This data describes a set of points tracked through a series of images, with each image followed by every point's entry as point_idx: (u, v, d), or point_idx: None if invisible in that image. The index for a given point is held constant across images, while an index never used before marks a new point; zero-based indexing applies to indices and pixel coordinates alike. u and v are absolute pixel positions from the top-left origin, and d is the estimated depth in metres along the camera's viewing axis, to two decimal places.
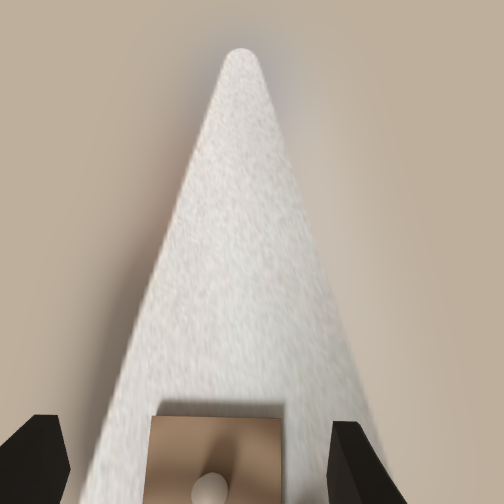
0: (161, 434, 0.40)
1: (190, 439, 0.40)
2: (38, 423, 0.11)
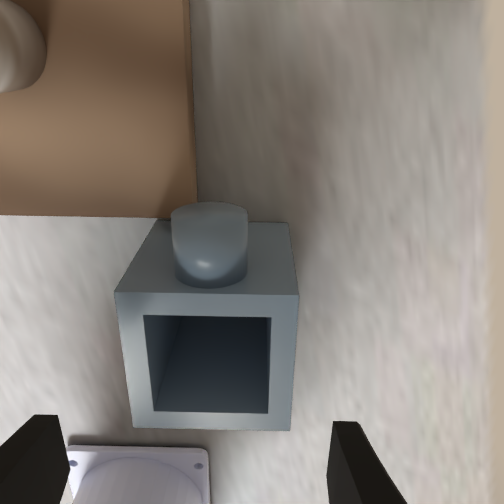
0: None
1: None
2: (38, 423, 0.11)
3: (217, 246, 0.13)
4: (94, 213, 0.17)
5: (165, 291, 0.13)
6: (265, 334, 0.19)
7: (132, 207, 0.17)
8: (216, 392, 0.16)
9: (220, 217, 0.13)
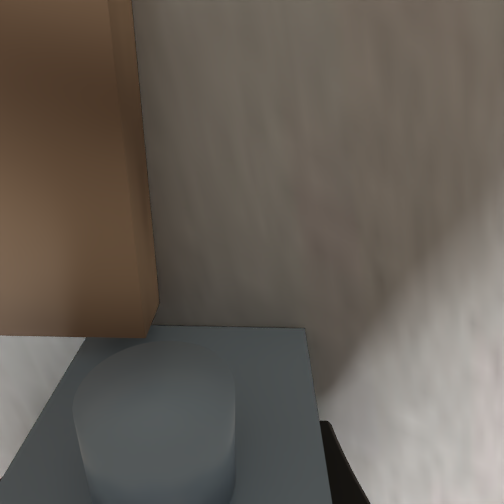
0: None
1: None
2: None
3: (166, 483, 0.06)
4: None
5: None
6: None
7: (41, 321, 0.10)
8: None
9: (178, 401, 0.06)
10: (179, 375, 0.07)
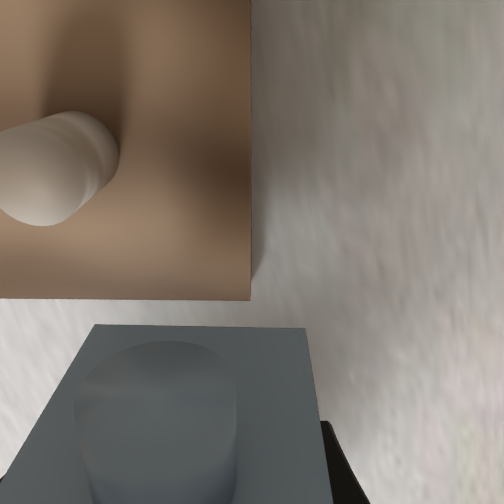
0: None
1: None
2: None
3: (167, 483, 0.06)
4: (156, 296, 0.18)
5: None
6: None
7: (193, 291, 0.18)
8: None
9: (179, 401, 0.06)
10: (180, 375, 0.07)
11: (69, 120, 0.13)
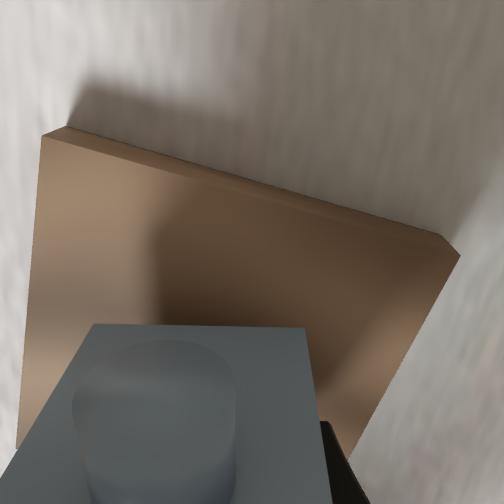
0: (76, 203, 0.12)
1: (168, 239, 0.13)
2: None
3: (165, 483, 0.06)
4: None
5: None
6: None
7: None
8: None
9: (178, 400, 0.06)
10: (179, 374, 0.07)
11: None
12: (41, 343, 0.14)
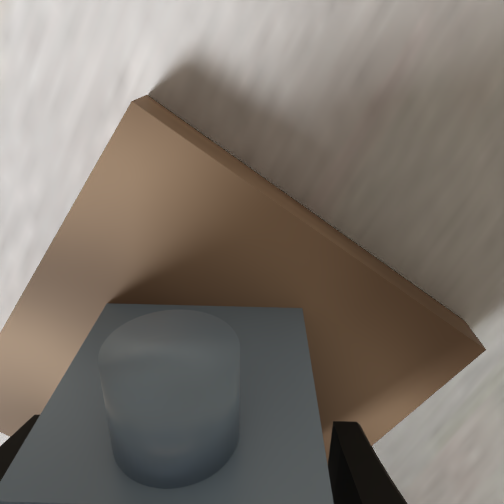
0: (138, 182, 0.11)
1: (219, 249, 0.12)
2: None
3: (180, 424, 0.07)
4: None
5: (86, 498, 0.07)
6: None
7: None
8: None
9: (189, 356, 0.07)
10: (190, 337, 0.08)
11: None
12: (34, 311, 0.13)
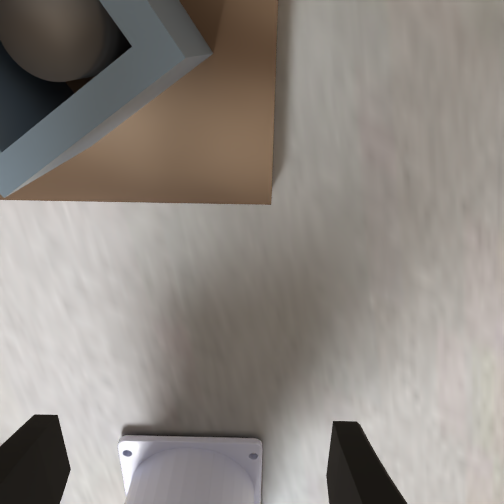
0: None
1: None
2: (38, 423, 0.11)
3: None
4: (172, 199, 0.17)
5: None
6: None
7: (211, 193, 0.17)
8: None
9: None
10: None
11: None
12: None
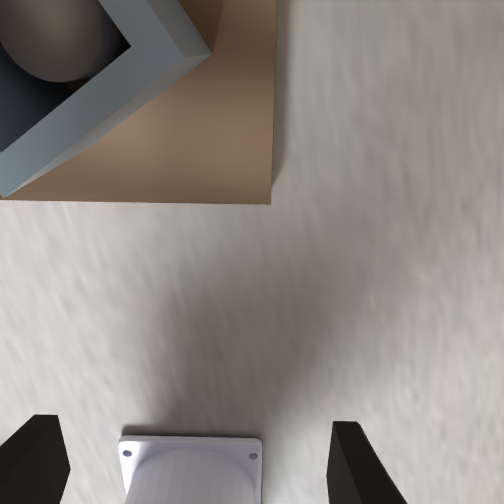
0: None
1: None
2: (38, 423, 0.11)
3: None
4: (172, 199, 0.17)
5: None
6: None
7: (210, 193, 0.17)
8: None
9: None
10: None
11: None
12: None
